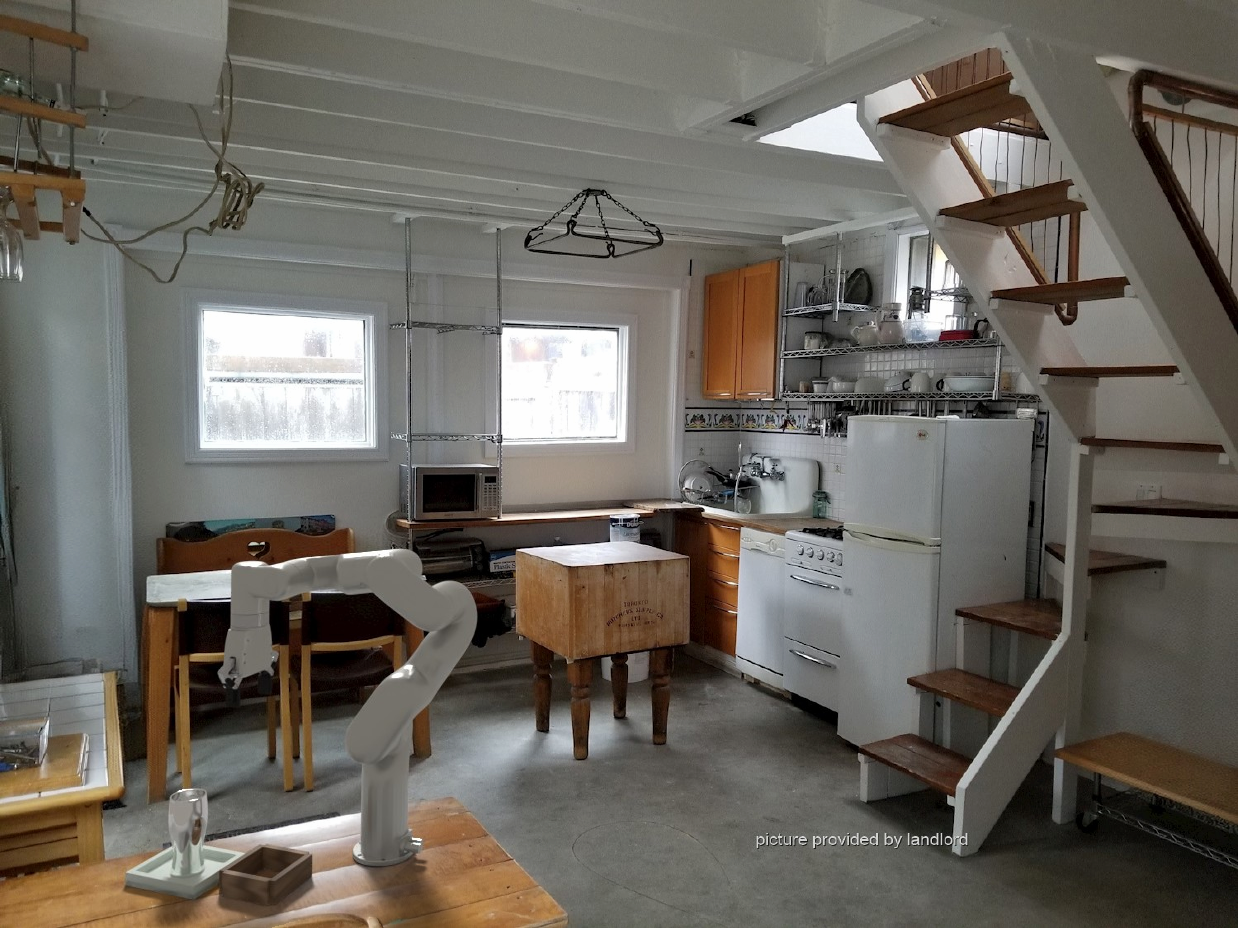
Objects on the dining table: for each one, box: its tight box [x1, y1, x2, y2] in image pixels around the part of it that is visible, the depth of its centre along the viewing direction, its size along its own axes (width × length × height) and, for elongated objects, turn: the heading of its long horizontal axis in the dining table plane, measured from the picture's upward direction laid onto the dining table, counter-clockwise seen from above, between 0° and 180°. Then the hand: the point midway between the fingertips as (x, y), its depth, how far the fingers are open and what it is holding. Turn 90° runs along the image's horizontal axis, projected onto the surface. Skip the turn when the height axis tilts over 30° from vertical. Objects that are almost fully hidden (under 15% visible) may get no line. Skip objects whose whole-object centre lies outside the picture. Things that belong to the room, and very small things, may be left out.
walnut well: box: [218, 843, 313, 906], centre depth 171 cm, size 12×12×4 cm
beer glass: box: [167, 787, 209, 878], centre depth 173 cm, size 7×7×15 cm
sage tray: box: [124, 844, 246, 901], centre depth 174 cm, size 16×14×2 cm
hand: (249, 700), depth 188 cm, fingers open, 9 cm apart
